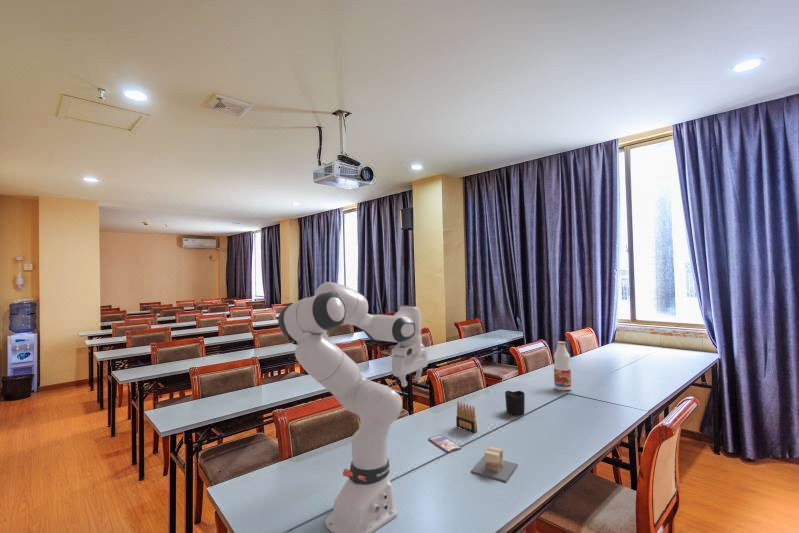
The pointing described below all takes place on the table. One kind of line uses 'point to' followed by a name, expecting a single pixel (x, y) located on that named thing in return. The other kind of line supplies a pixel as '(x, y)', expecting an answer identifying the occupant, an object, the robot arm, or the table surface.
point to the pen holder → (515, 402)
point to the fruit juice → (562, 367)
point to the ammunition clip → (466, 417)
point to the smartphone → (444, 443)
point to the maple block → (494, 459)
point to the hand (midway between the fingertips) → (411, 383)
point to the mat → (501, 475)
